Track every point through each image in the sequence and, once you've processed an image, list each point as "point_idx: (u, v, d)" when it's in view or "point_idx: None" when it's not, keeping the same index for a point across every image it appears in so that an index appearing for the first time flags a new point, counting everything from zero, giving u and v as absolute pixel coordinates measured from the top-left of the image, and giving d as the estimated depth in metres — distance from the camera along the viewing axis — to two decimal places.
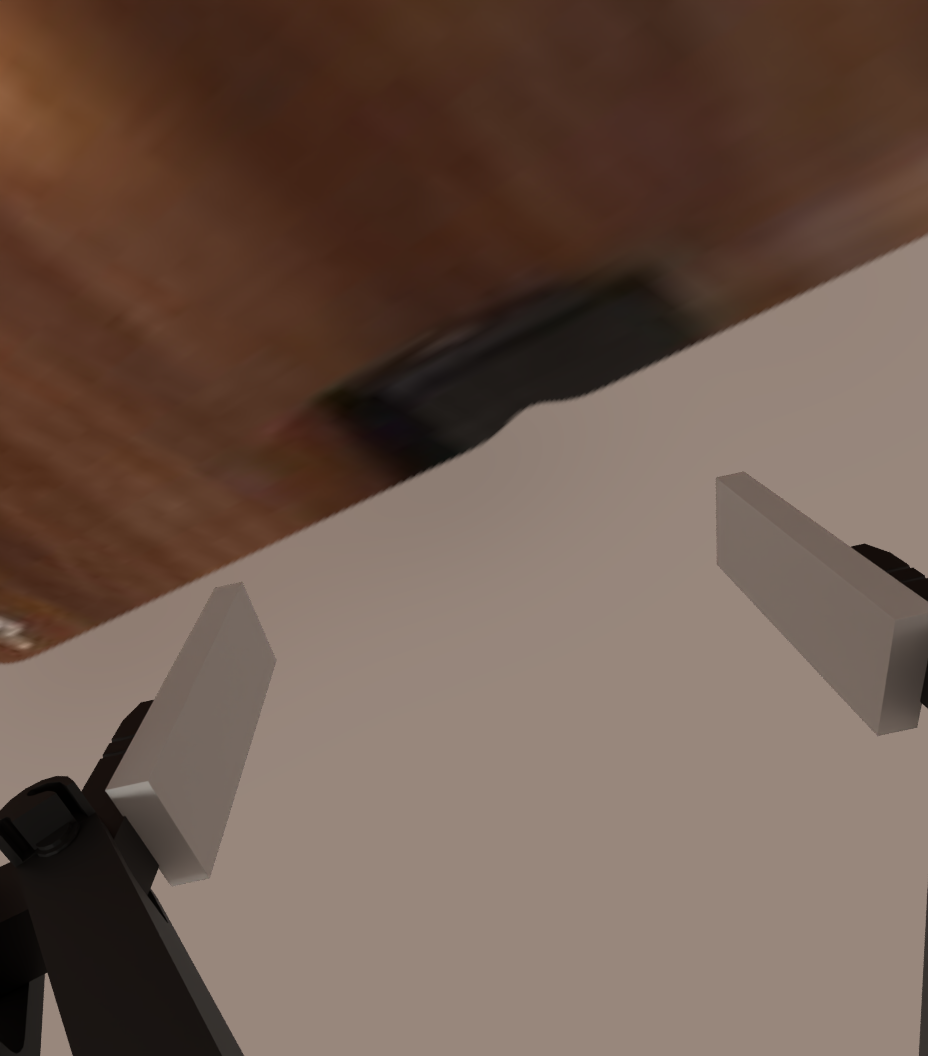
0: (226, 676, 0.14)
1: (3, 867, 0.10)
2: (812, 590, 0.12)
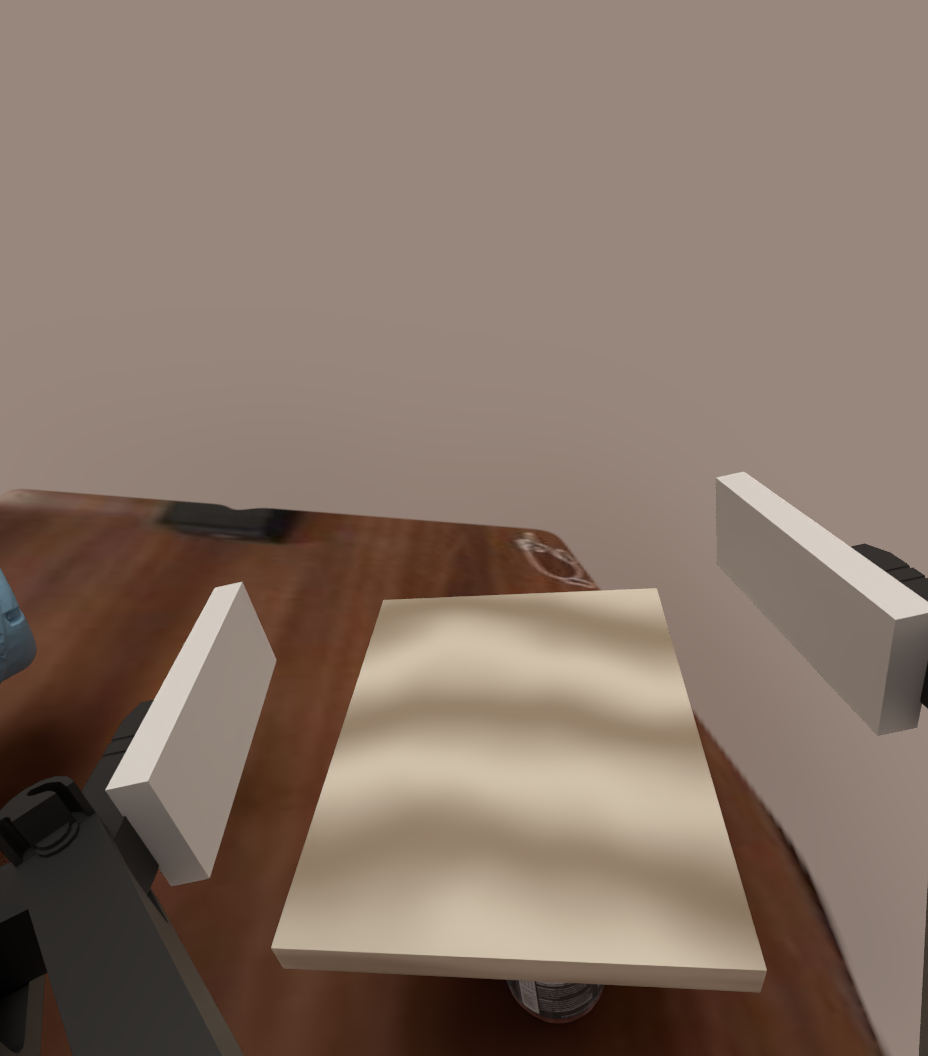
0: (226, 676, 0.14)
1: (3, 867, 0.10)
2: (812, 590, 0.12)
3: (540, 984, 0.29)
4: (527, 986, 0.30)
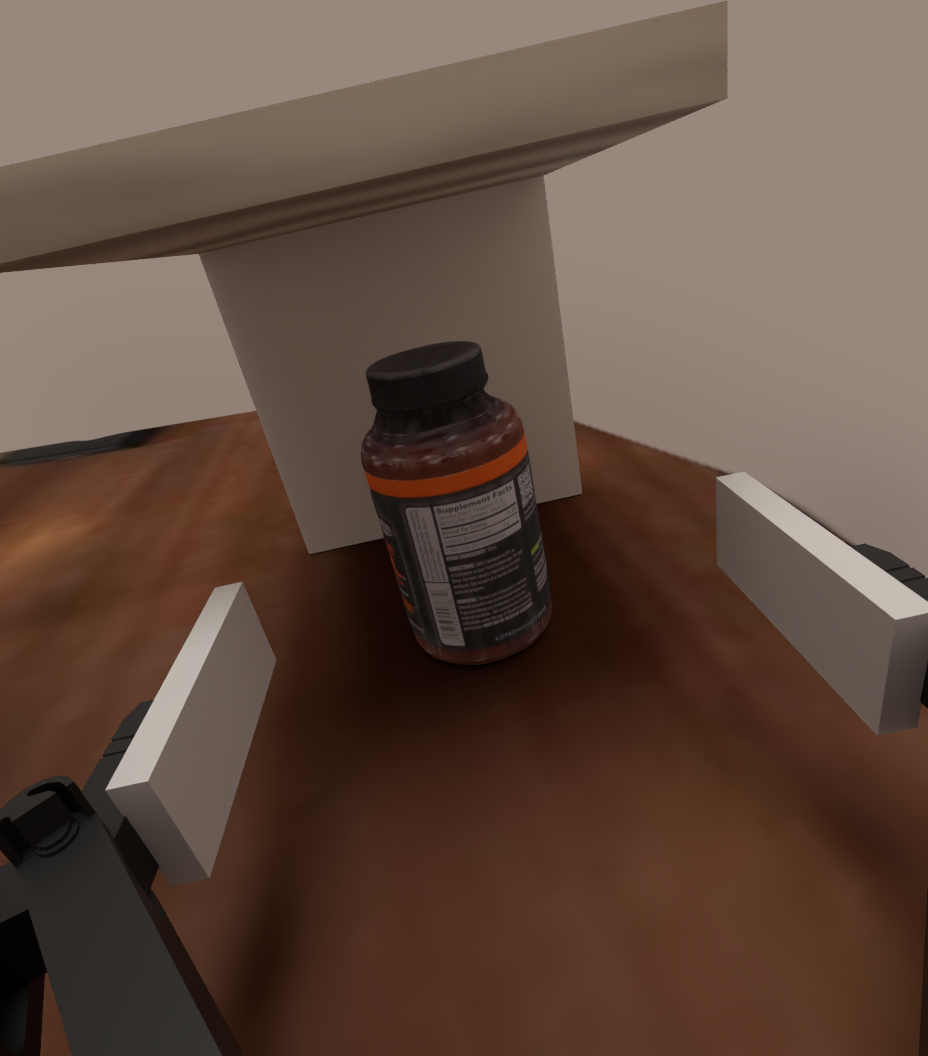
0: (226, 676, 0.14)
1: (3, 867, 0.10)
2: (812, 590, 0.12)
3: (451, 558, 0.20)
4: (437, 583, 0.21)
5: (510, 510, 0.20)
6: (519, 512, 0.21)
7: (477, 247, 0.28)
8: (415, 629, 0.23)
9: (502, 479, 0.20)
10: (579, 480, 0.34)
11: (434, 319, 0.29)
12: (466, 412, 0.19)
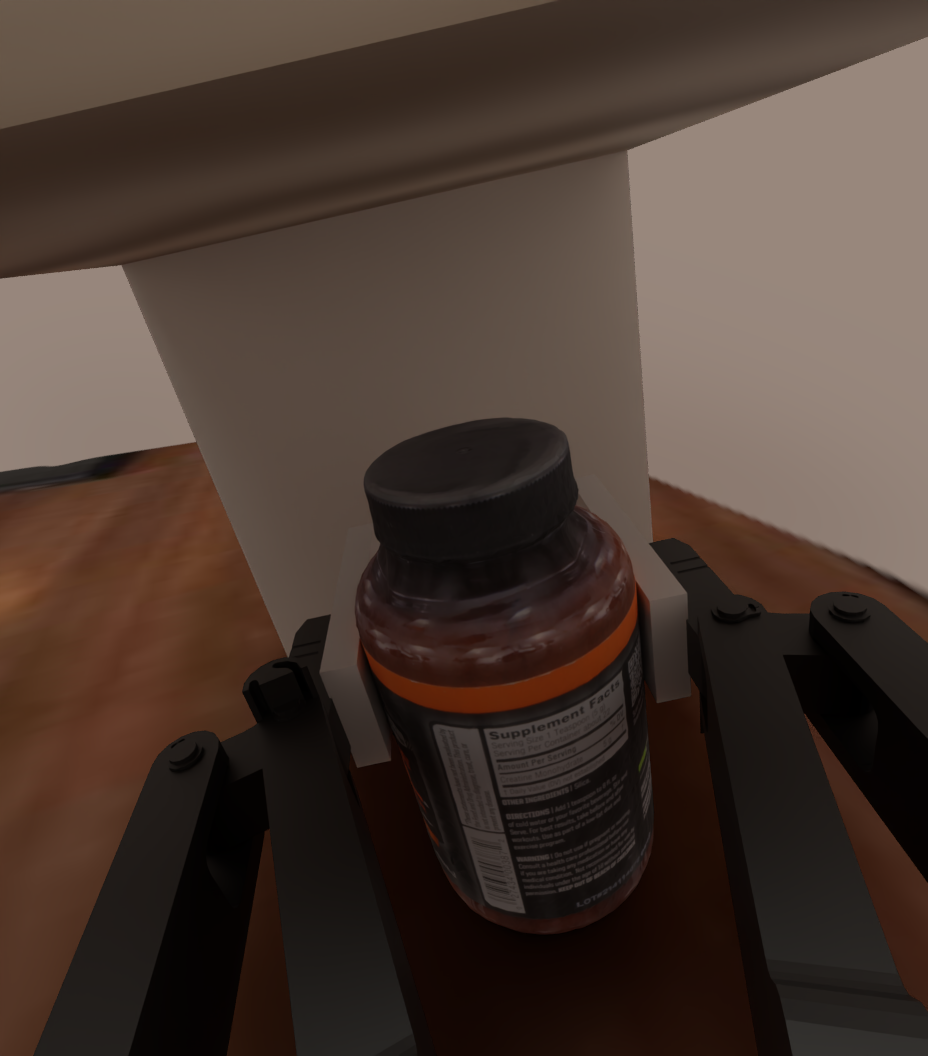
0: None
1: (235, 737, 0.12)
2: None
3: (511, 803, 0.12)
4: (483, 831, 0.12)
5: (615, 719, 0.12)
6: (627, 716, 0.12)
7: (527, 255, 0.19)
8: (441, 862, 0.15)
9: (606, 675, 0.11)
10: None
11: (463, 357, 0.21)
12: (545, 561, 0.11)
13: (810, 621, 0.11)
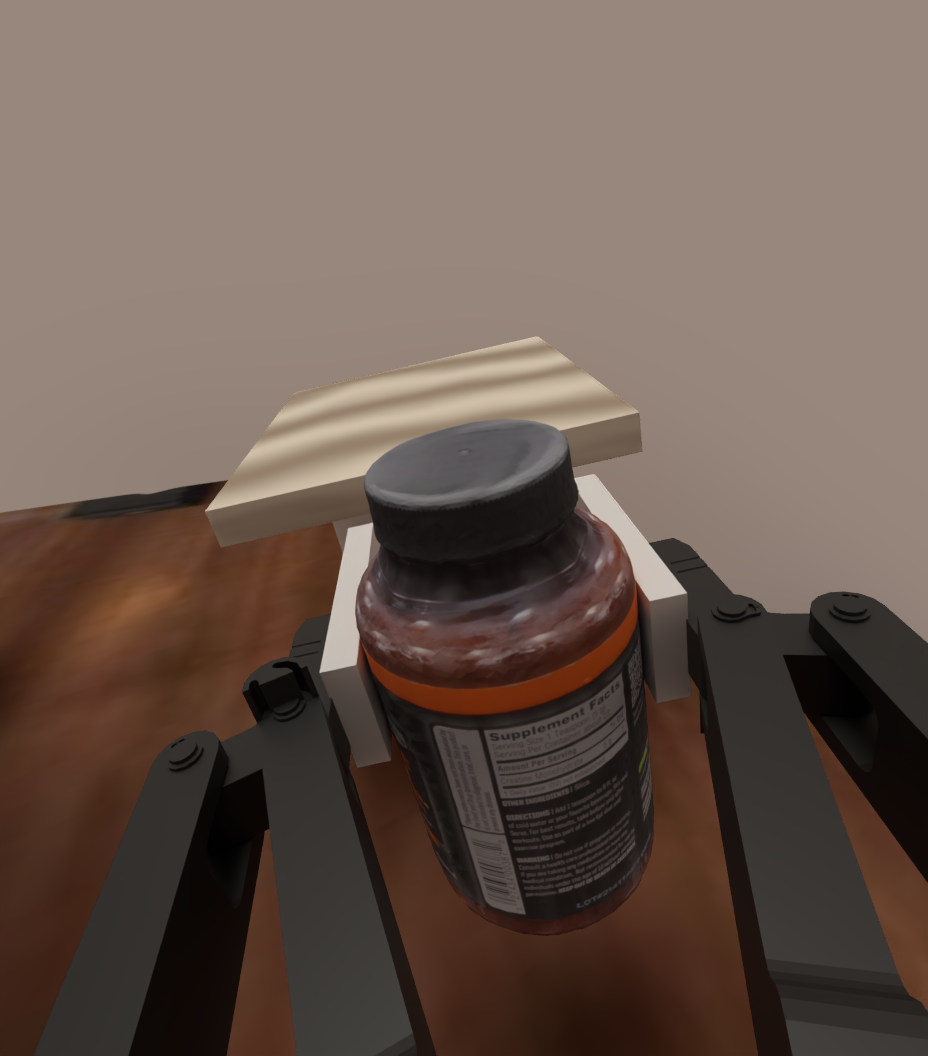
0: None
1: (235, 737, 0.12)
2: None
3: (512, 804, 0.12)
4: (483, 832, 0.12)
5: (615, 720, 0.12)
6: (627, 716, 0.12)
7: None
8: (441, 863, 0.15)
9: (606, 677, 0.11)
10: None
11: None
12: (546, 563, 0.11)
13: (810, 621, 0.11)
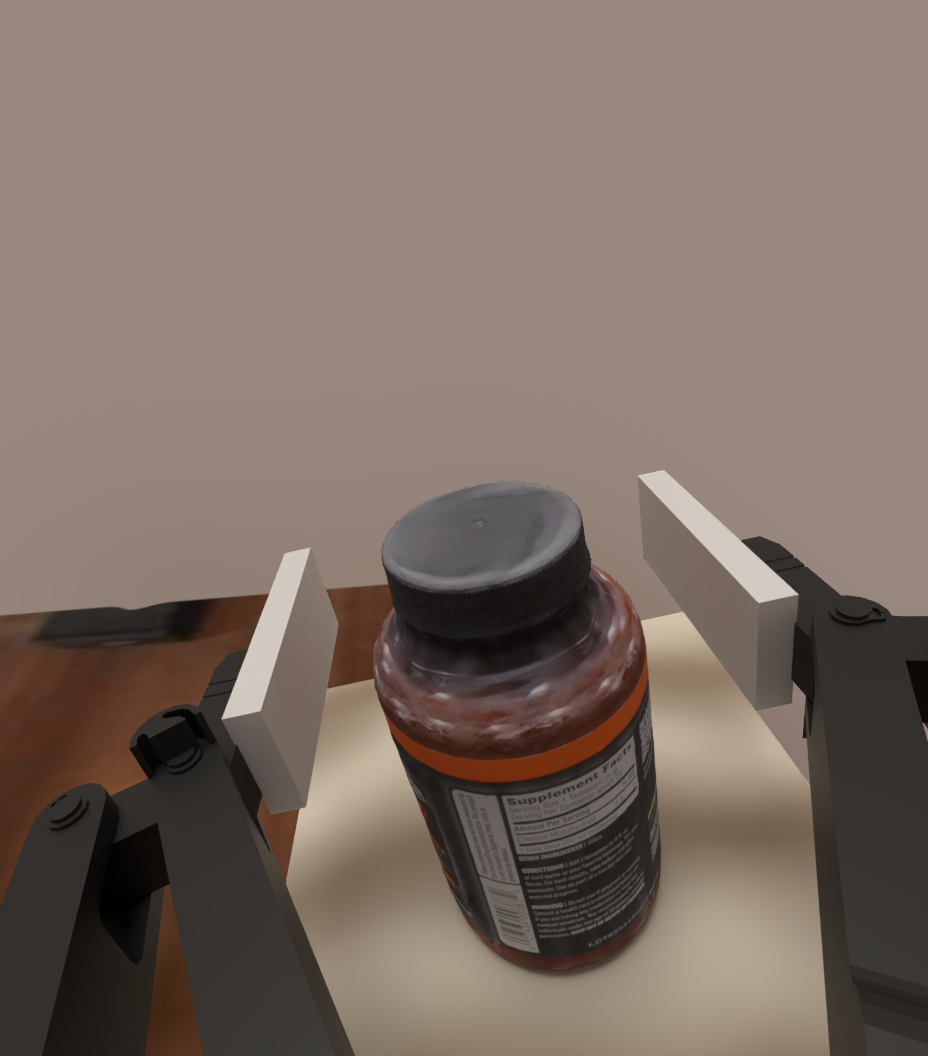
0: (305, 631, 0.15)
1: (131, 788, 0.11)
2: (706, 578, 0.13)
3: (527, 859, 0.12)
4: (500, 882, 0.13)
5: (627, 779, 0.12)
6: (638, 773, 0.12)
7: None
8: (457, 900, 0.15)
9: (618, 741, 0.11)
10: None
11: None
12: (561, 637, 0.11)
13: None
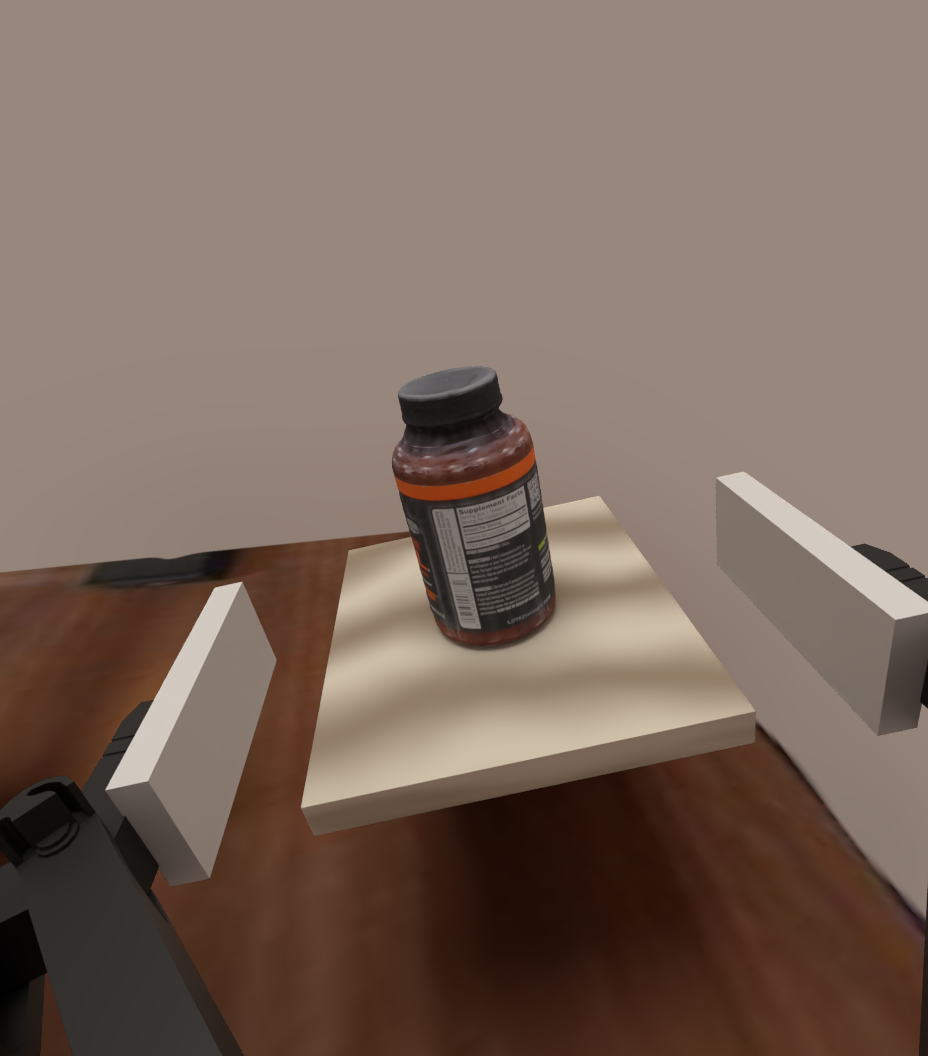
0: (226, 676, 0.14)
1: (3, 867, 0.10)
2: (812, 590, 0.12)
3: (471, 552, 0.24)
4: (457, 574, 0.24)
5: (521, 511, 0.24)
6: (528, 513, 0.24)
7: None
8: (436, 615, 0.27)
9: (514, 485, 0.23)
10: None
11: None
12: (484, 428, 0.23)
13: None
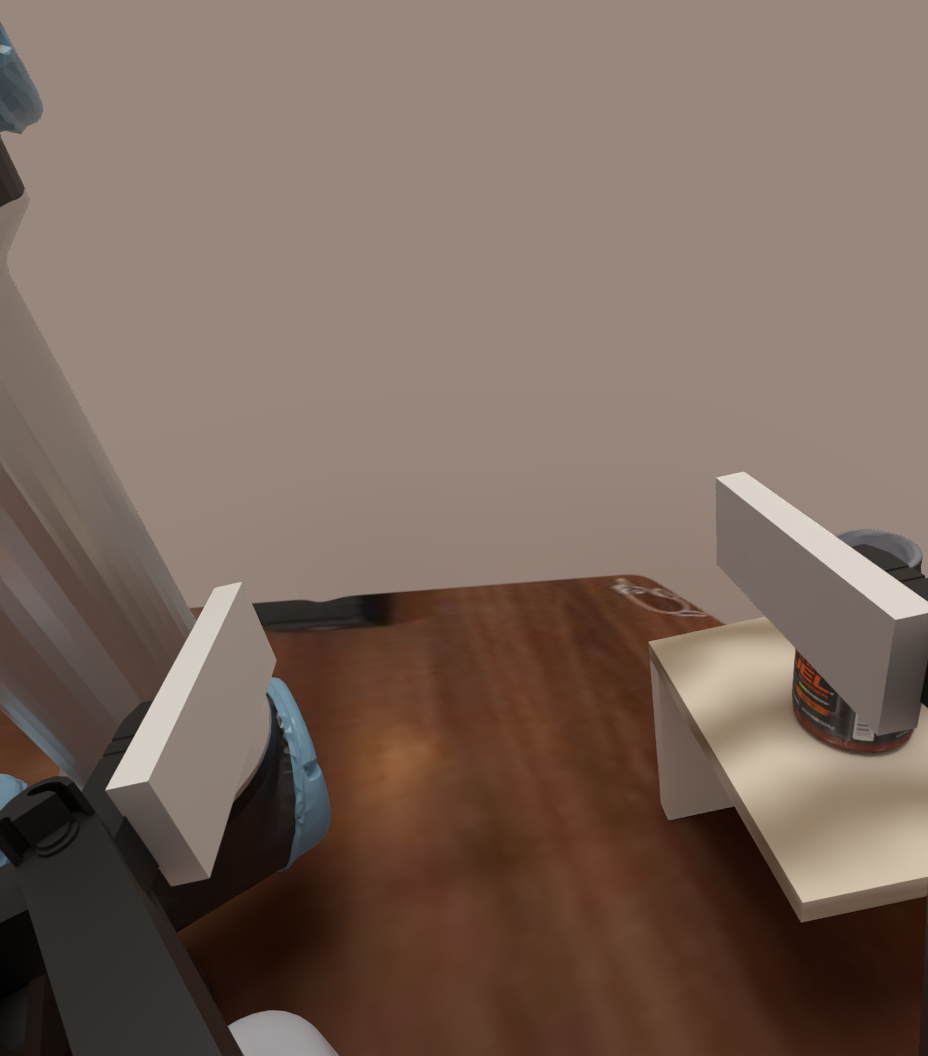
0: (226, 676, 0.14)
1: (3, 867, 0.10)
2: (812, 590, 0.12)
3: None
4: None
5: None
6: None
7: None
8: (820, 725, 0.32)
9: None
10: None
11: None
12: None
13: None
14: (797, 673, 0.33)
